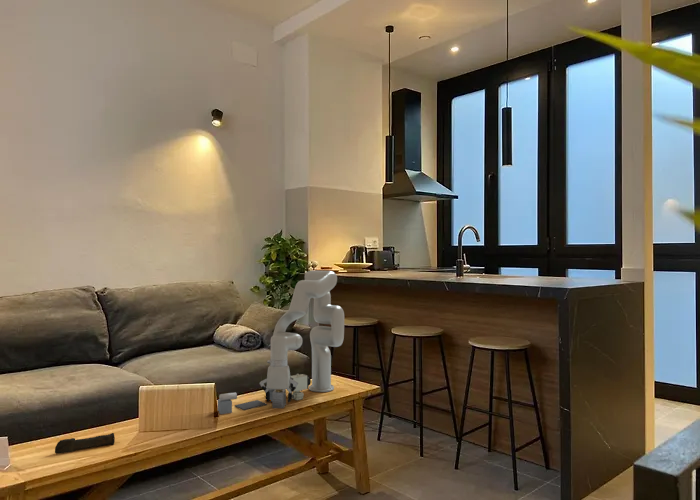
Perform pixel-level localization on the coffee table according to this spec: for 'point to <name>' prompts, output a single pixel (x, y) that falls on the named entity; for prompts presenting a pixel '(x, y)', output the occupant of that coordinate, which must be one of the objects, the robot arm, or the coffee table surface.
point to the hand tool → (83, 443)
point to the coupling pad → (250, 405)
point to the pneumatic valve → (300, 385)
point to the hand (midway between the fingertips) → (278, 401)
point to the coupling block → (278, 398)
